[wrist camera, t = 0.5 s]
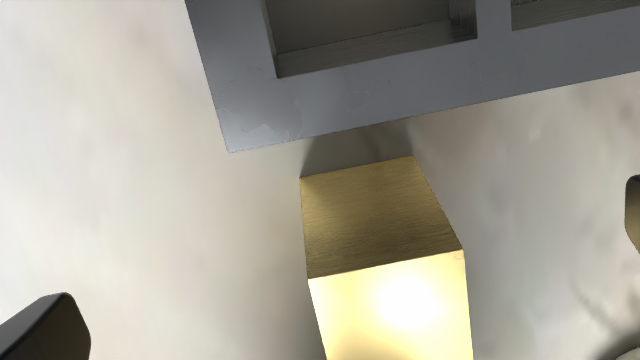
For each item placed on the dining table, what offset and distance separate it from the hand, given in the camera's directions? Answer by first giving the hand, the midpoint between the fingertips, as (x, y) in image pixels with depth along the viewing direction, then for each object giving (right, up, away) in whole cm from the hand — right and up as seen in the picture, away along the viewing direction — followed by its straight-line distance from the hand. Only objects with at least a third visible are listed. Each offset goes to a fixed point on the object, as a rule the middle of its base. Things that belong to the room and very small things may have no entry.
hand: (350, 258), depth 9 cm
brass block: (+1, 0, +14) cm, 14 cm away
